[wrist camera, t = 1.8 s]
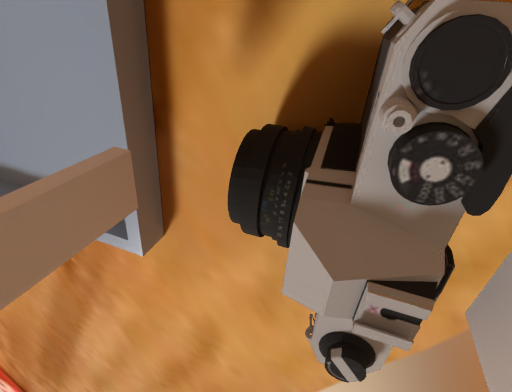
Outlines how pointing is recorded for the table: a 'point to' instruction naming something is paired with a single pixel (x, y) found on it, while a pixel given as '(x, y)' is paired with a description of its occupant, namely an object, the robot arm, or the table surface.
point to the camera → (386, 181)
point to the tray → (79, 100)
